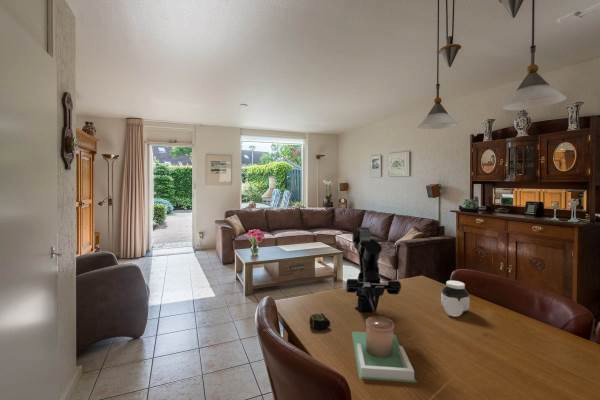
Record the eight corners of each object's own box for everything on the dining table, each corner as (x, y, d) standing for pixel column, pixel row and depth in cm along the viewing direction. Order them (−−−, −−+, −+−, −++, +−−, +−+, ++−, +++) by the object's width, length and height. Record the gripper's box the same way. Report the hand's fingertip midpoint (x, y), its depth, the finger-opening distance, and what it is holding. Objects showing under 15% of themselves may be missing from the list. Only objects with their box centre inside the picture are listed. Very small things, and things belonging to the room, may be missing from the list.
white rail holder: (356, 351, 90) (356, 343, 90) (402, 353, 89) (402, 346, 89) (361, 376, 78) (361, 367, 78) (413, 380, 77) (414, 371, 76)
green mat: (351, 332, 102) (351, 331, 102) (394, 335, 101) (394, 333, 101) (359, 379, 77) (359, 378, 77) (416, 383, 76) (416, 382, 76)
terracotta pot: (376, 340, 96) (376, 313, 96) (398, 351, 90) (399, 323, 90) (359, 349, 91) (360, 321, 91) (383, 362, 85) (383, 332, 84)
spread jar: (460, 306, 125) (461, 280, 125) (477, 318, 114) (478, 289, 114) (433, 306, 125) (434, 280, 125) (448, 318, 114) (448, 289, 113)
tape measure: (330, 329, 105) (331, 319, 104) (313, 332, 102) (313, 322, 102) (323, 321, 111) (323, 311, 111) (306, 323, 109) (307, 314, 109)
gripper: (392, 279, 113) (398, 320, 102) (344, 278, 115) (346, 317, 104) (397, 265, 105) (405, 307, 94) (346, 263, 106) (347, 305, 96)
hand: (375, 310), depth 97 cm, fingers closed
